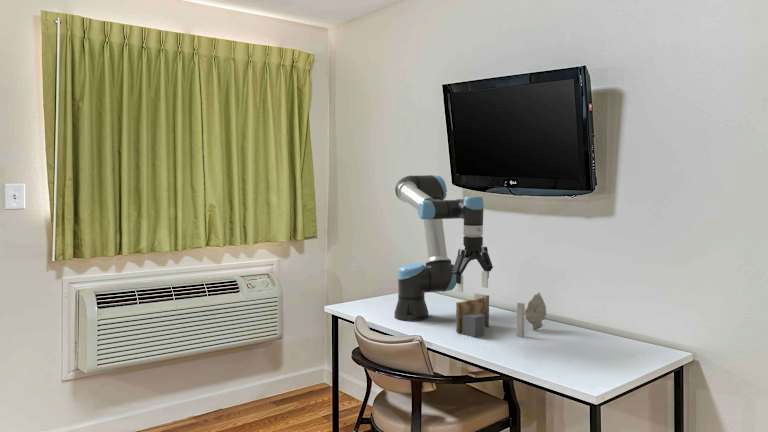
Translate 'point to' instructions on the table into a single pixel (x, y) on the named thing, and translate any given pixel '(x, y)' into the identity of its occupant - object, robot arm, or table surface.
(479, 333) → the block
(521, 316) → the door frame
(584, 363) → the table surface
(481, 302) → the door
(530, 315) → the stone tool
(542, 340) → the table surface
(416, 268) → the robot arm
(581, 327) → the table surface
